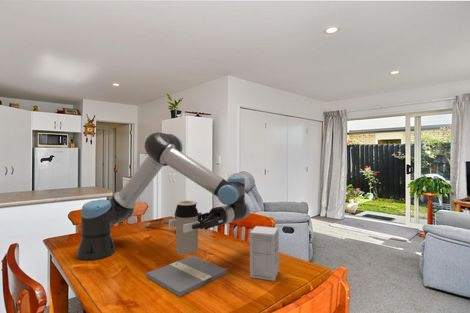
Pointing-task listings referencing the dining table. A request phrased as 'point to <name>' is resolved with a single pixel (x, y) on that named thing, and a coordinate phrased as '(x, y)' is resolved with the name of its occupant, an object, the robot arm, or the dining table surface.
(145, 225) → the hammer
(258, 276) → the supplement box
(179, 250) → the travel mug
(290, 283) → the dining table surface
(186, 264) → the board
